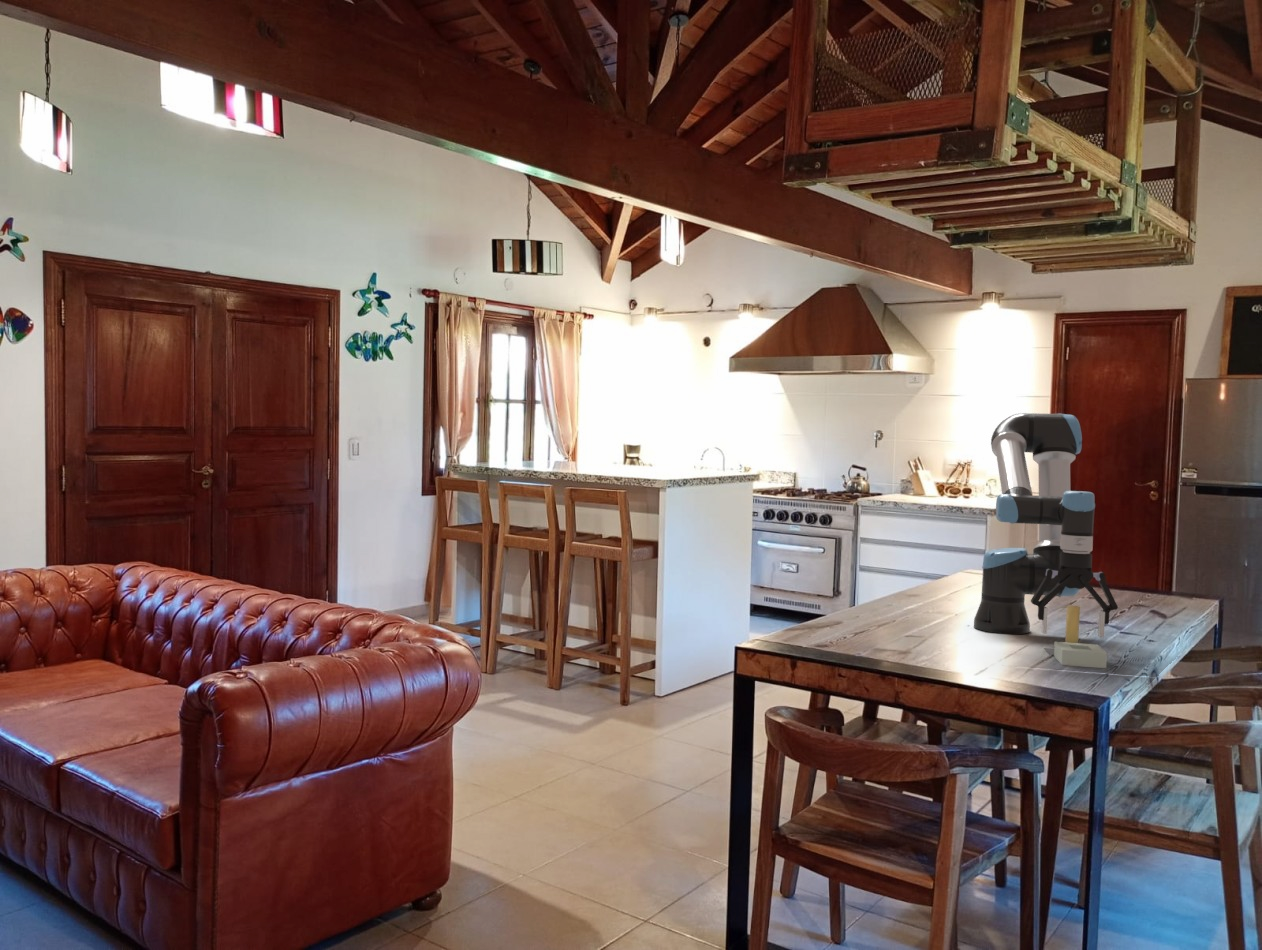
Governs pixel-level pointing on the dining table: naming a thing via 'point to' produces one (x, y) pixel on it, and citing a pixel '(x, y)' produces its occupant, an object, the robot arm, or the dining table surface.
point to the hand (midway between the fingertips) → (1072, 634)
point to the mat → (1049, 651)
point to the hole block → (1080, 654)
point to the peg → (1072, 624)
